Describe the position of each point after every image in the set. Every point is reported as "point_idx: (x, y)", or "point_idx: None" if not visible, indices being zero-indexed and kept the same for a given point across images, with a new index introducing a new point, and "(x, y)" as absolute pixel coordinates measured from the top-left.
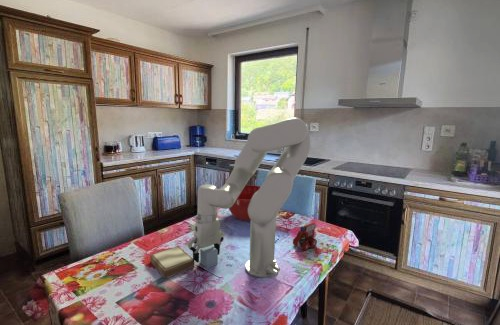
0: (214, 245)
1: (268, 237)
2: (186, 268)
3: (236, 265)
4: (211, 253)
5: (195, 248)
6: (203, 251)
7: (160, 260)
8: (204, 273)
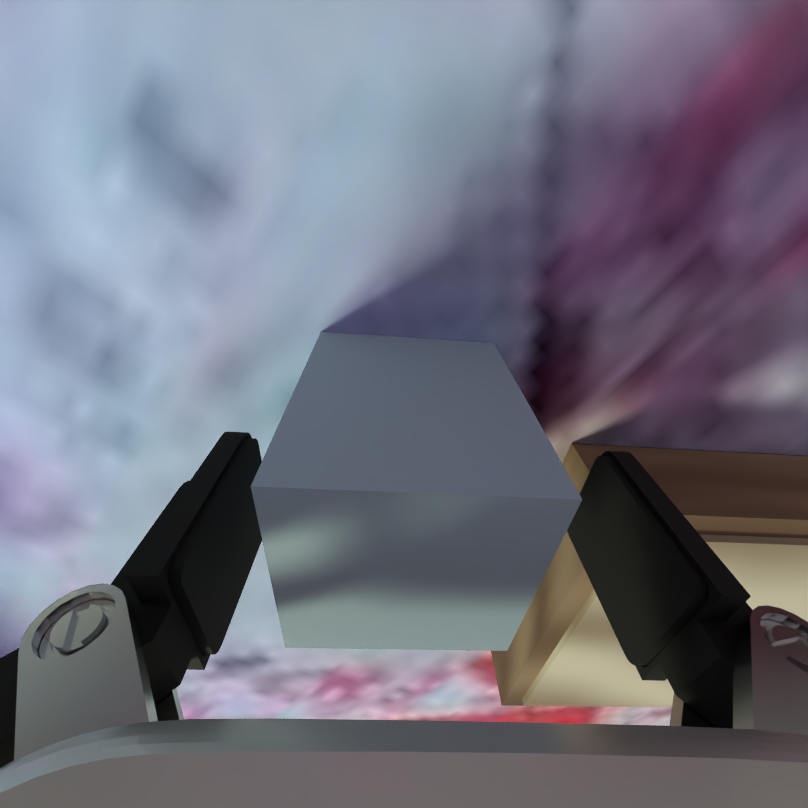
0: (226, 612)
1: None
2: (677, 460)
3: (36, 22)
4: (441, 466)
5: (687, 714)
6: (534, 583)
7: None
8: (617, 255)
